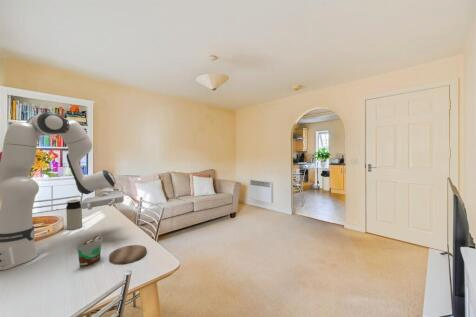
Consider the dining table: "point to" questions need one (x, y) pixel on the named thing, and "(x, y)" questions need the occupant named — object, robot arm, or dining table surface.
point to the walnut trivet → (127, 254)
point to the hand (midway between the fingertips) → (99, 206)
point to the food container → (90, 251)
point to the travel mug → (74, 214)
